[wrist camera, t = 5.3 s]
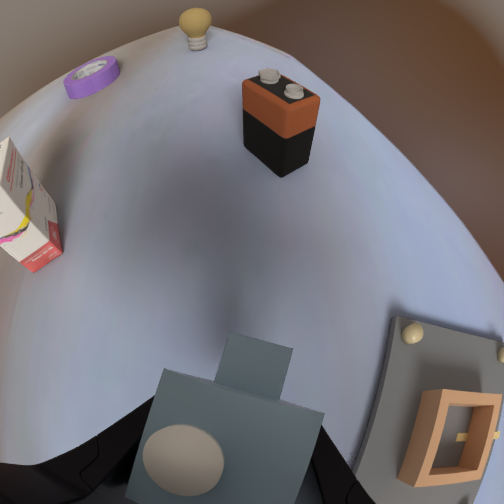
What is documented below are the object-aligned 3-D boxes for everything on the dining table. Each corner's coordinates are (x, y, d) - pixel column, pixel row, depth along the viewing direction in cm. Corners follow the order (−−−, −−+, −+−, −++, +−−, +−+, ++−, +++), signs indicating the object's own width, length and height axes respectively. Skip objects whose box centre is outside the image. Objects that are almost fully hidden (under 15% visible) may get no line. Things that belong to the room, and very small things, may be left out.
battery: (270, 132, 33) (274, 62, 24) (309, 164, 30) (324, 88, 22) (241, 146, 32) (239, 72, 23) (280, 180, 29) (289, 100, 20)
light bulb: (219, 46, 47) (217, 5, 39) (198, 55, 45) (193, 12, 36) (198, 42, 49) (194, 4, 40) (176, 52, 47) (170, 12, 38)
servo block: (249, 494, 12) (248, 603, 2) (182, 475, 12) (103, 557, 3) (291, 359, 16) (353, 311, 6) (226, 341, 16) (193, 268, 7)
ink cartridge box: (65, 253, 25) (-19, 160, 12) (33, 274, 24) (-55, 196, 11) (56, 200, 29) (-3, 113, 16) (28, 220, 27) (-37, 142, 14)
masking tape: (125, 64, 46) (121, 50, 43) (113, 88, 41) (107, 72, 38) (78, 79, 45) (74, 66, 42) (61, 106, 40) (54, 91, 37)
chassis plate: (462, 517, 11) (484, 525, 8) (325, 529, 14) (337, 550, 10) (505, 346, 20) (529, 337, 16) (391, 318, 22) (413, 304, 19)
